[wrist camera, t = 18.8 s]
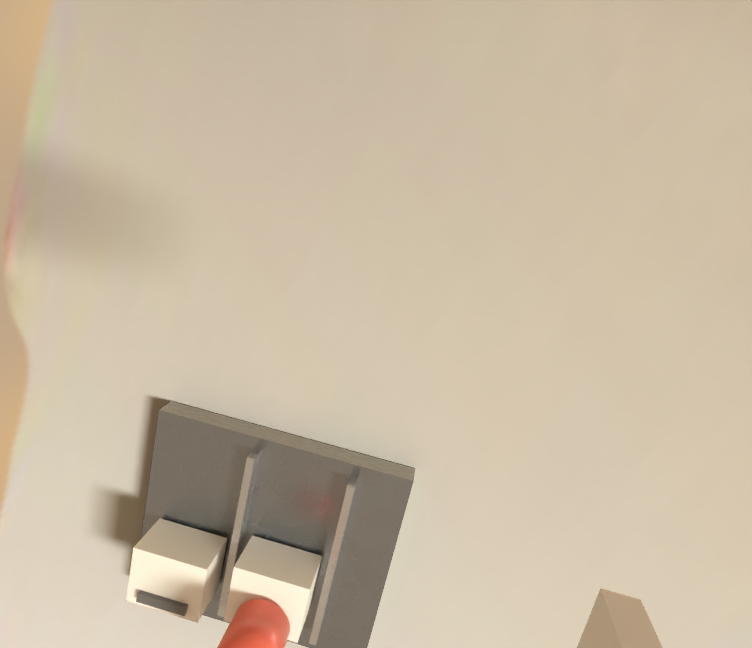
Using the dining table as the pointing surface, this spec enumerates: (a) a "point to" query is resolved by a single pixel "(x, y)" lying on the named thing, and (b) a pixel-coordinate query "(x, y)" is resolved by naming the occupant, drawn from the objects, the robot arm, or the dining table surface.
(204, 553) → the breaker
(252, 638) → the cap
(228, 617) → the block
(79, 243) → the dining table surface
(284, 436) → the panel
